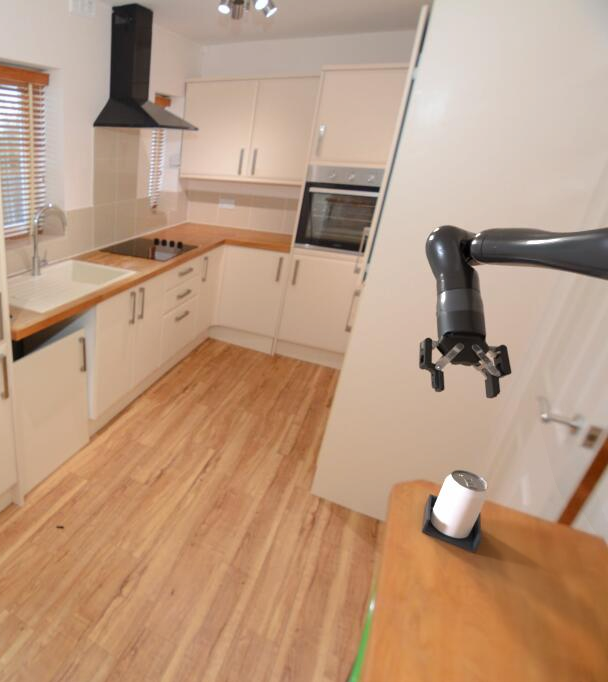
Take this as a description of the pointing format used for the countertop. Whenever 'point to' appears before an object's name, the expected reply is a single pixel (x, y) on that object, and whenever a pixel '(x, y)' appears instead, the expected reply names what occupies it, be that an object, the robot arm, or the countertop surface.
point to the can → (459, 504)
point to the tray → (465, 543)
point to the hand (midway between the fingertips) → (465, 394)
